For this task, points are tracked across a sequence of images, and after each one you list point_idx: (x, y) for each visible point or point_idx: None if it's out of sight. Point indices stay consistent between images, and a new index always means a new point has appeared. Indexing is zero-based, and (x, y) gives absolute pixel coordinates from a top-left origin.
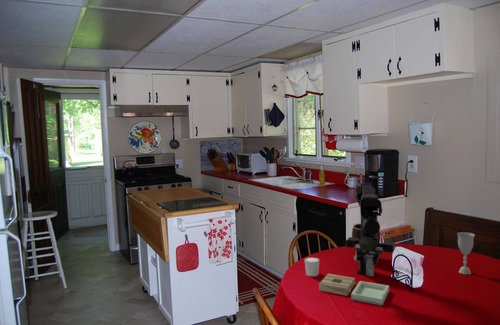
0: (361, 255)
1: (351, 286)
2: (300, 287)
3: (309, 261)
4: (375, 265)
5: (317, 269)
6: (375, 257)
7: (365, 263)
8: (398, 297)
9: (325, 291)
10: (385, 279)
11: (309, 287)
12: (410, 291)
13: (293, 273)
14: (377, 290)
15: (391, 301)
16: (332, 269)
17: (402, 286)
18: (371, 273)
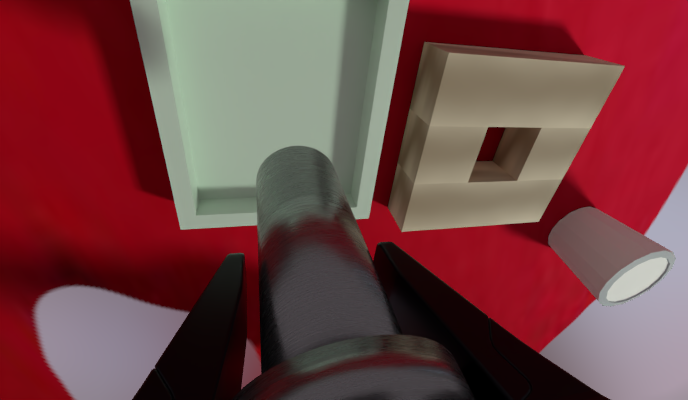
0: (511, 343)
1: (408, 154)
2: (676, 57)
3: (656, 259)
4: (225, 258)
5: (577, 244)
6: (196, 396)
7: (377, 263)
8: (90, 149)
9: (552, 53)
10: (252, 314)
11: (627, 77)
12: (67, 256)
13: (651, 201)
14: (248, 174)
15: (103, 62)
16: (483, 297)
17: (142, 288)
18: (275, 166)
